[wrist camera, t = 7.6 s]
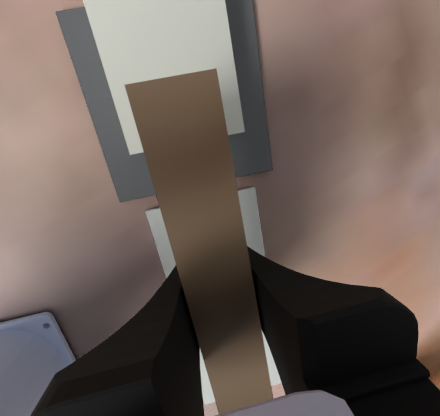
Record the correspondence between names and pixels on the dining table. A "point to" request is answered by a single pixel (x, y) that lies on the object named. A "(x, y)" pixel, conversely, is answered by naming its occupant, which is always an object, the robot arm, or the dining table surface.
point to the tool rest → (253, 241)
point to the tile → (163, 50)
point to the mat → (109, 121)
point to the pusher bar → (205, 227)
